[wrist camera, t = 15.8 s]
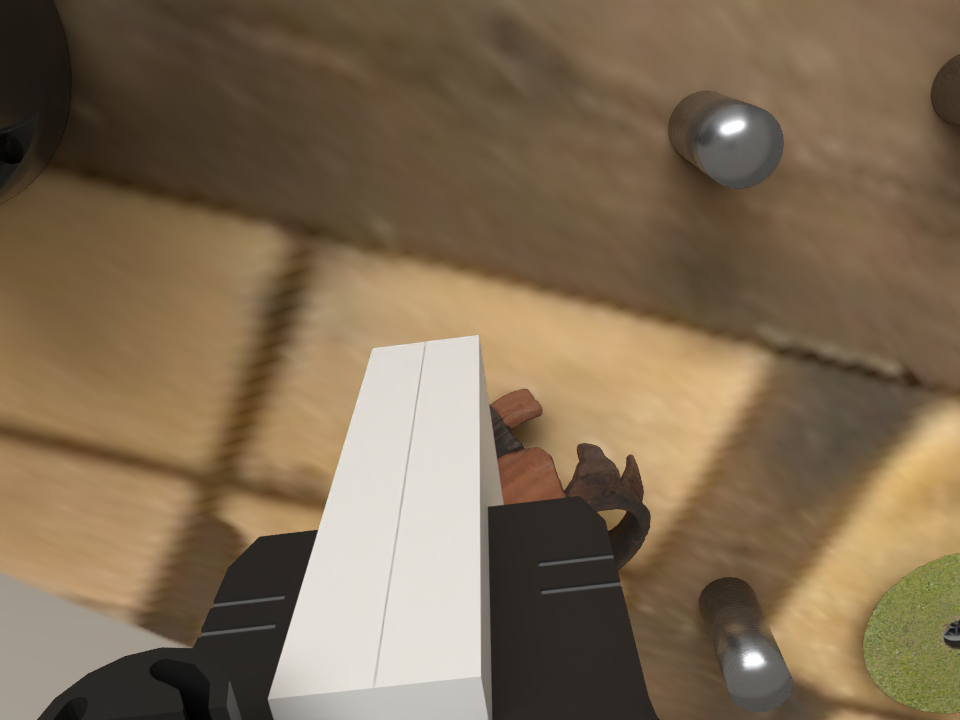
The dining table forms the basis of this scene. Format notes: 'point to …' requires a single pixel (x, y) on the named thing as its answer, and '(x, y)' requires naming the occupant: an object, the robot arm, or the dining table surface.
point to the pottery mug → (593, 479)
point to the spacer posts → (740, 164)
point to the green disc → (919, 638)
